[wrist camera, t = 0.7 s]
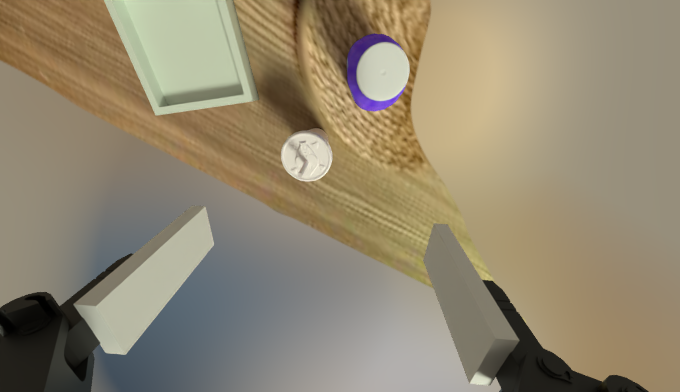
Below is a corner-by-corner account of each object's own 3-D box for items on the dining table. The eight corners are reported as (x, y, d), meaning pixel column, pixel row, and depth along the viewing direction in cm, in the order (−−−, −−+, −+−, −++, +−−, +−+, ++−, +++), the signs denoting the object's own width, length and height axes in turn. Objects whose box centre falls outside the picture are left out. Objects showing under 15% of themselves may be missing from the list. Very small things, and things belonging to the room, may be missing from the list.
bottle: (344, 51, 33) (336, 28, 17) (386, 40, 32) (417, 6, 16) (353, 106, 36) (354, 129, 20) (392, 98, 35) (423, 115, 19)
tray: (115, -8, 31) (97, -15, 29) (225, -31, 29) (214, -40, 27) (167, 113, 38) (155, 115, 35) (259, 99, 36) (253, 101, 34)
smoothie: (301, 161, 40) (277, 199, 27) (292, 121, 37) (262, 144, 25) (339, 156, 39) (332, 194, 27) (333, 116, 37) (323, 137, 24)
